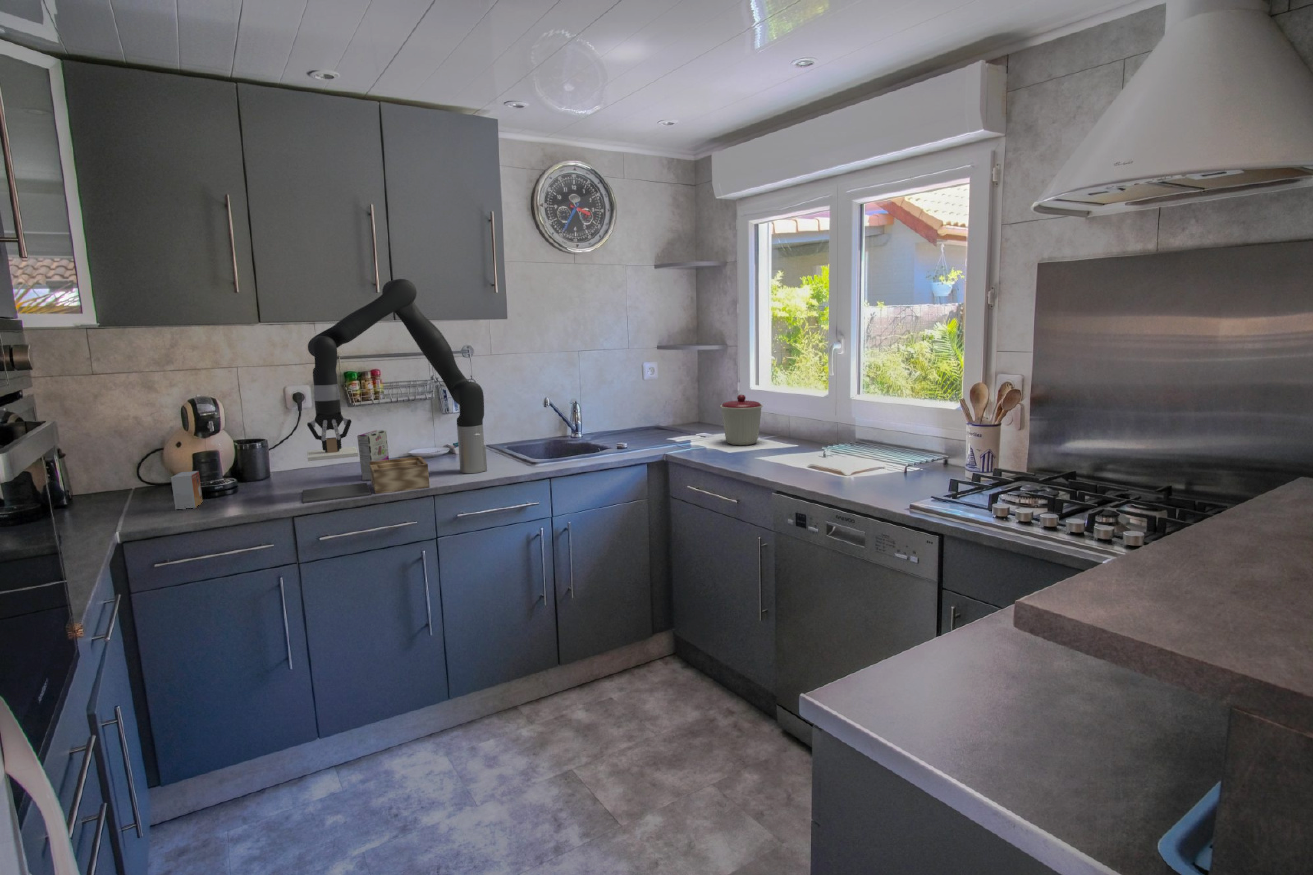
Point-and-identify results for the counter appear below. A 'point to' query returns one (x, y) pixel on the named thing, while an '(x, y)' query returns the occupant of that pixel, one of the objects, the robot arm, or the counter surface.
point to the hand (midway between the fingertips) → (332, 451)
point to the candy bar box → (372, 450)
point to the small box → (186, 490)
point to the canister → (741, 421)
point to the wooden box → (399, 474)
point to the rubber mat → (335, 492)
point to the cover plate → (332, 452)
